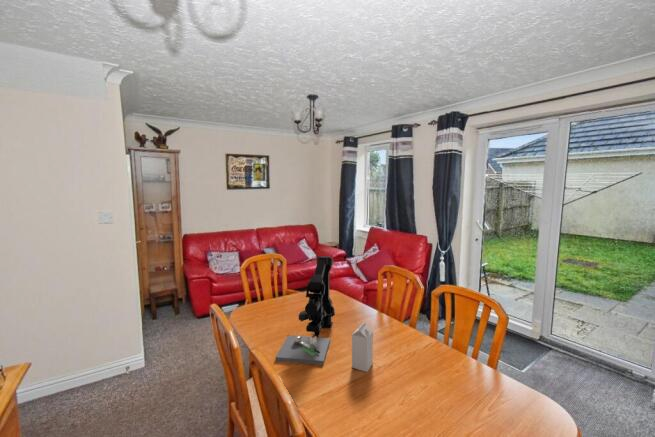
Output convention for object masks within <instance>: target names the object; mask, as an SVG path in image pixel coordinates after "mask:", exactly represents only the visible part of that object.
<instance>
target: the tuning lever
mask: <svg viewBox="0 0 655 437" xmlns="http://www.w3.org/2000/svg"><path fill="white" fill-rule="evenodd" d="M293 336H294V344H297V345H298V344H299V345H301V346H303V347H305V348H307V349H309V350H311V351H315V352H317V353H320V352H319V351H317V350H316V349H317V341H316V335H315V334H311V335H310V336H309V337H310V345H308V344H306V343H304V342H302V335H301V334H295V335H293Z"/></svg>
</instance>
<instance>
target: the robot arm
mask: <svg viewBox="0 0 655 437" xmlns="http://www.w3.org/2000/svg"><path fill="white" fill-rule="evenodd" d="M333 266H334V258H332V257H331V256H323V255H322V256H318V257H316V267H315V270H314V273H313V276H312V277H310V279H309V281H308V283H307V286H306V293H305V298H308V301H307V302H306V305H305V307H304V310H302V311H300V312H299V313H298V320H299V321H300V322H304V321H309V322H308V323H307V325H306V326H305V328H306V329H305V331H306V332H310V333H314V335H316V337H320V332H321V331H322V328H327V329H328V328H329V329H331V328H332V327H333V324H334V322H333V321H332V317H334V316H336V310H335V307H334V306H333V300H331V298H330V271H331V270H332V268H333Z"/></svg>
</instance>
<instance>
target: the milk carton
mask: <svg viewBox="0 0 655 437" xmlns="http://www.w3.org/2000/svg"><path fill="white" fill-rule="evenodd" d="M373 344H374V331H373V330H372V329H371V328H370V327H369V326H368V324H367V323H366V321H363V322H362V324H361V325H360V326H359V327H358V328H356V330H355V331H354V332H353V333H352V334H351V369H352V368H353V369H356V370H358V371H363V372H366V373H369V370H370V368H371V367H372V366H373V363H374V359H373V358H374V355H373V354H374V348H373V347H374V346H373Z"/></svg>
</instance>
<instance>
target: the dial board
mask: <svg viewBox="0 0 655 437" xmlns="http://www.w3.org/2000/svg"><path fill="white" fill-rule="evenodd" d="M294 336H295V335H287V337H286V338H285V340H284V342H283V344H282V345H281V347H280V349H279V350H278V352H277V353H276V355H275V359H274V360H275V362H277V363H278V362H281V363H291V364H293V363H294V364H303V365H316V366H324V365H325V361H326V357H327V355H328V351H329V348H330V344H331V337H320V336H318V337H316V341H317V349H316V350H317V351H319V352H320V353H317V352H315V351H311V350H309V349H307V348H305V347H303V346H301V345H299V344H298V345H297V344H294ZM301 336H302V335H301ZM302 342H304V343H306V344H308V345H310V336H304V335H303V336H302Z"/></svg>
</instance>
